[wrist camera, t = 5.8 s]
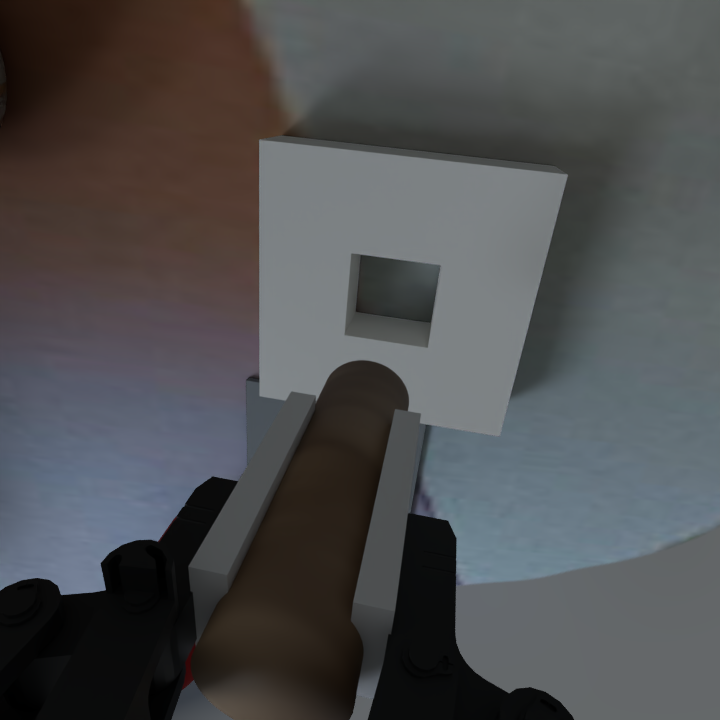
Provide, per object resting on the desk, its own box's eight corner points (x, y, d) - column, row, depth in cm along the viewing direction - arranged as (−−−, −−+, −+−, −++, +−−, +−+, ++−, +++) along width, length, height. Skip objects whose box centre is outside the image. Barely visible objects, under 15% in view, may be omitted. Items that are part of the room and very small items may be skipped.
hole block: (277, 369, 34) (259, 396, 30) (281, 135, 27) (259, 139, 24) (495, 404, 32) (499, 436, 29) (554, 165, 26) (568, 174, 23)
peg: (321, 427, 19) (196, 715, 10) (325, 354, 17) (184, 613, 9) (403, 441, 18) (348, 753, 10) (414, 367, 17) (361, 653, 8)
